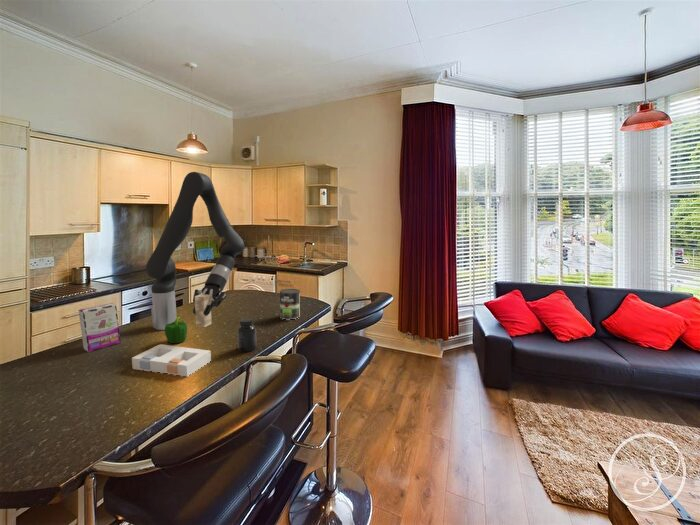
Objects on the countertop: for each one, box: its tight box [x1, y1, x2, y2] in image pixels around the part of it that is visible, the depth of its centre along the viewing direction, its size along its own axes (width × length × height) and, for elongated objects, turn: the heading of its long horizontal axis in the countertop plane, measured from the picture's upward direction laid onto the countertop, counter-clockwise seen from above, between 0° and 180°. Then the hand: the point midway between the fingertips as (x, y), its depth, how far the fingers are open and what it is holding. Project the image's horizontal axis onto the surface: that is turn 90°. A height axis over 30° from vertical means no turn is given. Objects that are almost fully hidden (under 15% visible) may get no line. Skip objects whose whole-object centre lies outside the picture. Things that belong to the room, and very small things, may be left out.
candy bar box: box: [78, 302, 121, 353], centre depth 127 cm, size 11×5×16 cm, turn 148°
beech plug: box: [194, 293, 212, 328], centre depth 126 cm, size 4×4×12 cm
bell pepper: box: [164, 316, 188, 344], centre depth 133 cm, size 8×8×10 cm
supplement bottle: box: [237, 317, 258, 353], centre depth 127 cm, size 7×7×12 cm
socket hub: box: [131, 344, 212, 378], centre depth 113 cm, size 22×12×4 cm, turn 77°
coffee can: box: [279, 288, 301, 321], centre depth 166 cm, size 10×10×14 cm
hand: (200, 314), depth 125 cm, fingers closed on beech plug, 4 cm apart
